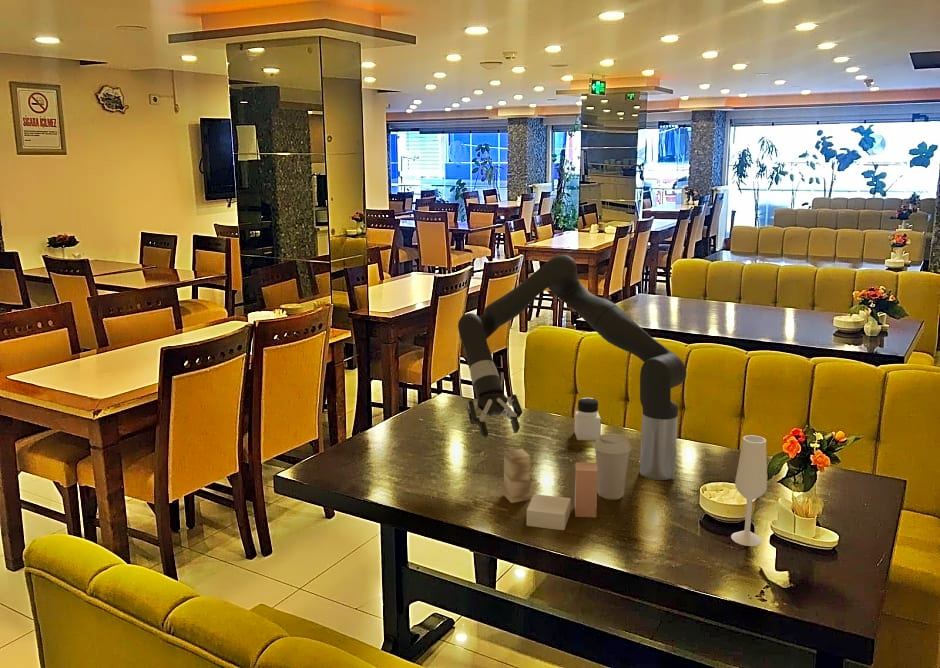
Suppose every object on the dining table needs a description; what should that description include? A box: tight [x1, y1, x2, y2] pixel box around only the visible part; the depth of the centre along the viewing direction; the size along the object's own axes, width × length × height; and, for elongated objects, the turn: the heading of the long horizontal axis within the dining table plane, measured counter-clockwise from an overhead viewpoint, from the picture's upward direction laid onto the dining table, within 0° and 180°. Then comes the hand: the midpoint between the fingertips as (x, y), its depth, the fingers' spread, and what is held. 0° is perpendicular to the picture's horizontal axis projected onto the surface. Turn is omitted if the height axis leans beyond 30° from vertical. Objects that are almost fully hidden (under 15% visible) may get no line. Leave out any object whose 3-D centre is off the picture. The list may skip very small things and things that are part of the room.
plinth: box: [526, 493, 571, 531], centre depth 183 cm, size 9×9×4 cm
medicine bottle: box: [573, 397, 602, 441], centre depth 236 cm, size 7×7×12 cm
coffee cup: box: [592, 433, 632, 500], centre depth 195 cm, size 10×10×15 cm
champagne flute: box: [730, 434, 768, 547], centre depth 171 cm, size 7×7×24 cm
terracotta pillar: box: [574, 461, 598, 518], centre depth 186 cm, size 5×5×12 cm
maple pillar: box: [503, 448, 531, 504], centre depth 194 cm, size 5×5×12 cm
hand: (501, 434), depth 202 cm, fingers open, 8 cm apart
